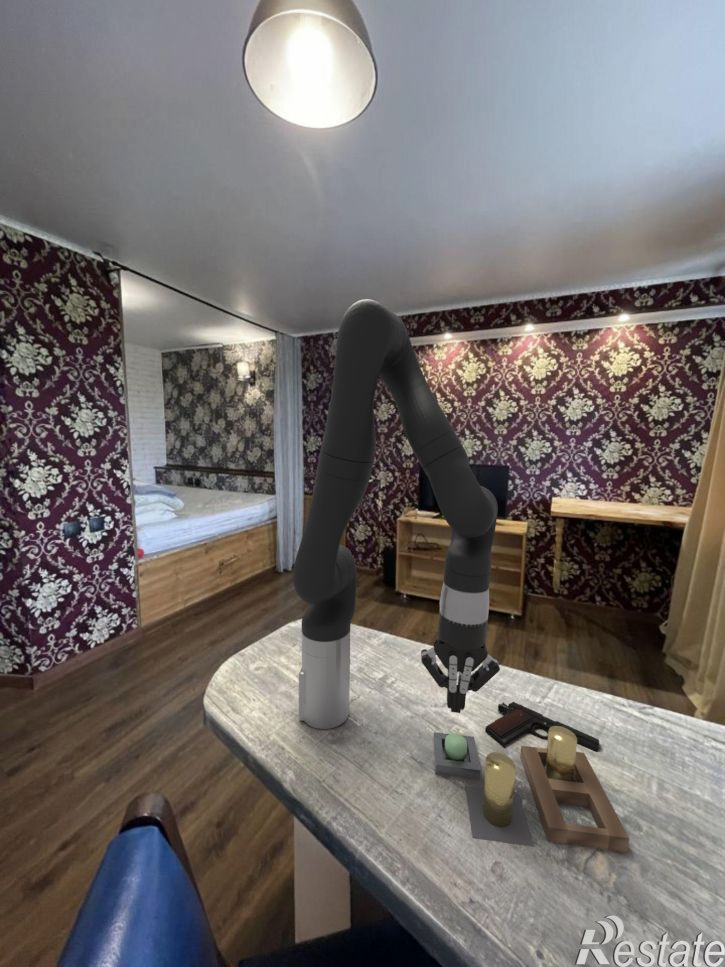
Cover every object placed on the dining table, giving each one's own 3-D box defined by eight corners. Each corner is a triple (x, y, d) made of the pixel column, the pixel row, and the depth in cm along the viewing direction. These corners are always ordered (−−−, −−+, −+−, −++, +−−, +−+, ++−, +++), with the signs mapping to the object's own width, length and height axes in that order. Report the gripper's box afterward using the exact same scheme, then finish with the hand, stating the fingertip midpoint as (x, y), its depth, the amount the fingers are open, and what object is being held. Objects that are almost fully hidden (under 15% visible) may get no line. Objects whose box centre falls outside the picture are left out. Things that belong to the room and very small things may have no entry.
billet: (485, 825, 55) (488, 774, 54) (480, 799, 59) (483, 750, 58) (514, 829, 55) (518, 777, 54) (508, 802, 59) (511, 754, 58)
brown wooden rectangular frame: (547, 843, 53) (548, 827, 53) (520, 759, 67) (521, 745, 67) (627, 854, 52) (629, 838, 52) (582, 766, 66) (584, 752, 65)
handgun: (591, 786, 61) (600, 736, 71) (482, 730, 71) (502, 693, 80) (589, 798, 61) (598, 747, 71) (481, 741, 71) (501, 703, 81)
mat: (472, 840, 54) (472, 837, 54) (464, 787, 61) (465, 785, 61) (534, 849, 53) (534, 846, 53) (518, 794, 60) (518, 792, 60)
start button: (445, 760, 65) (446, 749, 64) (443, 743, 68) (444, 732, 68) (467, 762, 64) (468, 751, 64) (465, 745, 68) (465, 734, 68)
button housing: (435, 776, 64) (435, 764, 63) (433, 742, 70) (433, 732, 70) (479, 781, 63) (480, 770, 62) (473, 746, 70) (474, 736, 69)
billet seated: (549, 790, 61) (553, 743, 60) (541, 768, 65) (545, 724, 64) (576, 793, 61) (581, 746, 60) (567, 771, 65) (571, 727, 64)
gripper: (422, 618, 60) (415, 720, 63) (512, 626, 59) (501, 731, 61) (421, 597, 68) (414, 689, 70) (501, 604, 66) (491, 698, 69)
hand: (455, 709), depth 66 cm, fingers closed
